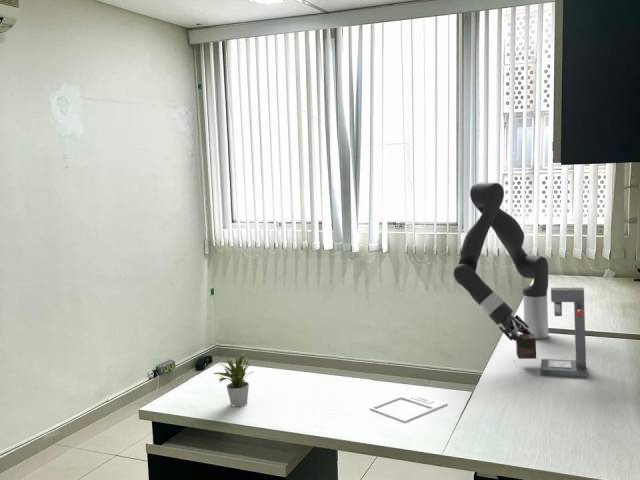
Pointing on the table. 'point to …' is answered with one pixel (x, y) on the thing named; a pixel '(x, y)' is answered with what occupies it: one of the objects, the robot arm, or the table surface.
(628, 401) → the table surface
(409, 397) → the photo frame
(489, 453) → the table surface
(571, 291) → the press
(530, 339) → the box
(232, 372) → the house plant
